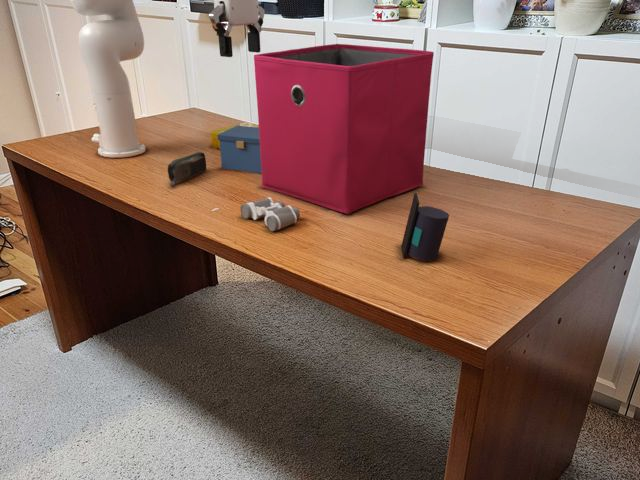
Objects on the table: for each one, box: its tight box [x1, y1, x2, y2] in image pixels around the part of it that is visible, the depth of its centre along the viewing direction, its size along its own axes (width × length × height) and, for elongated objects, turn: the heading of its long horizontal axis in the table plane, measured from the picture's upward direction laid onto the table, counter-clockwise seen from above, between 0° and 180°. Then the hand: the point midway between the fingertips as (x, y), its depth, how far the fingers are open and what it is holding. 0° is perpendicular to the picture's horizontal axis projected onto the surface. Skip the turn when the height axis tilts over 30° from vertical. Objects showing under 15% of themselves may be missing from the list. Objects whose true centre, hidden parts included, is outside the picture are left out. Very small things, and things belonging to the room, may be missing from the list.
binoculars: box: [240, 196, 301, 232], centre depth 120 cm, size 12×8×4 cm, turn 41°
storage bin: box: [253, 43, 435, 215], centre depth 131 cm, size 28×29×28 cm
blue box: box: [217, 126, 262, 174], centre depth 150 cm, size 13×11×8 cm
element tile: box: [210, 122, 259, 150], centre depth 168 cm, size 15×15×5 cm
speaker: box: [400, 192, 450, 262], centre depth 104 cm, size 8×6×10 cm
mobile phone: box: [167, 151, 207, 187], centre depth 142 cm, size 5×3×15 cm
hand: (240, 54), depth 134 cm, fingers open, 9 cm apart
